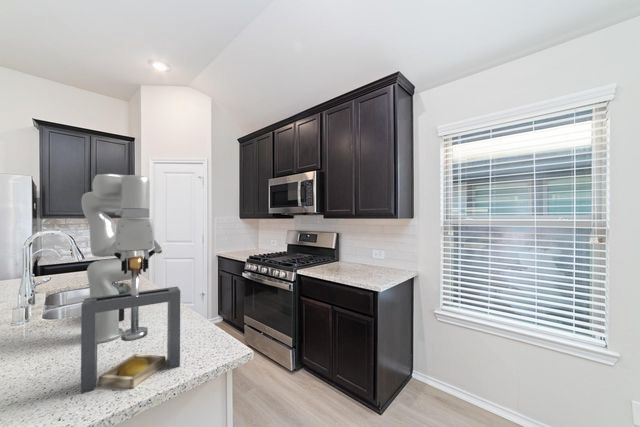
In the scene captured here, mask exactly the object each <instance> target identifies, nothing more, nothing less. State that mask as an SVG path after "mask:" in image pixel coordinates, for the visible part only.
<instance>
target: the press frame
mask: <svg viewBox="0 0 640 427" xmlns="http://www.w3.org/2000/svg"><path fill="white" fill-rule="evenodd" d="M163 303H167V331H166V332H167V345H166V346H167V348H166V349H167V352H166V353H167V354H166V356H167V358H166V360H167V364H168V368H169V370H171V369H172V370H173V369H175V368H176V369H177V368H179V367H181V290H180V288H179V287H178V286H172V287H165V288H164V287H163V288H157V289H149V290H139V295H136V296H131V292H126V293H124V294H116V295H108V296H100V297H92V298H90V297H87V298H86V297H85V298H84V299H83V302H82V303H81V309H80V310H81V312H80V313H81V316H80V317H81V321H80V322H81V326H80V328H81V330H80V332H81V333H80V334H81V336H80V338H81V341H80V343H81V344H80V394H81V395H82V394H85V393H89V392H93V391H95V390H96V384H97V381H98V380H97V379H98V343H97V315H98V313H99V312H106V311H112V310H119V309H124V310H126V309H131V308H132V307H138V306H139V307H143V306H152V305H156V304H163Z"/></svg>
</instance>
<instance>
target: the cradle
mask: <svg viewBox="0 0 640 427" xmlns="http://www.w3.org/2000/svg"><path fill="white" fill-rule="evenodd" d="M137 358H142V359H145V360H147V361H148V362H149V364H150V365H149V366H148V367H146V368H145V369H144V370H142V371H141V372H140V373H138V374H137V375H135V376H134V377H128V376H120V375H119V370H120V368H121V367H122V366H123V365H124V364H125V363H127V362H128V361H130V360H133V359H137ZM164 365H166V355H165V356H164V355H153V354H142V353H141V354H140V353H134V354H133V355H131V356H129V357H128V358H127V359H124V360H123V361H122V362H119V363H118V364H116V365H115V366H114V367H112V368H110V369H108V370H107V371H105V372H104V373H102V374H101V375H99V376H98V385H99V386H104V387H105V386H106V387H115V388H126V389H135V388H136V387H137V386H139V385H140V384H141V383H143V382H144V381H145V380H147V379H148V378H149V377H150V376H152V375H153V374H154V373H155V372H157V371H158V370H160V369H161V368H162V367H163V366H164Z"/></svg>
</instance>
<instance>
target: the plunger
mask: <svg viewBox="0 0 640 427" xmlns="http://www.w3.org/2000/svg"><path fill="white" fill-rule="evenodd" d="M143 259H144V256H143V255H138V256H132V257H128V264H127V270H128V271H131V279H130V280H131V282H130V284H131V285H130V286H131V287H130V289H131V290H130V293H131V296H136V295H139V291H140V289H139V288H140V271H143ZM139 307H140V306H138V307H132V308H130V328H128V329H125V330H123V332H122V333H121V336H120V340H121V341H124V342H132V341H133V342H134V341H137V340H141V339H143V338H145V337H147V335H148V333H149V332H148V331H149V330H148V327H147V326H139V325H140V324H139V323H140V322H139V310H140V309H139Z"/></svg>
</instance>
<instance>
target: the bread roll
mask: <svg viewBox="0 0 640 427" xmlns="http://www.w3.org/2000/svg"><path fill="white" fill-rule="evenodd" d="M149 365H150V364H149V362H148V361H147V360H145V359H142V358H137V359H133V360H130V361H128V362H127V363H125V364H124V365H123V366H122V367H121V368H120V370H119V375H118V376H128V377H134V376H135V375H137V374H138V373H140V372H141V371H142V370H144V369H145V368H146V367H148V366H149Z"/></svg>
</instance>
